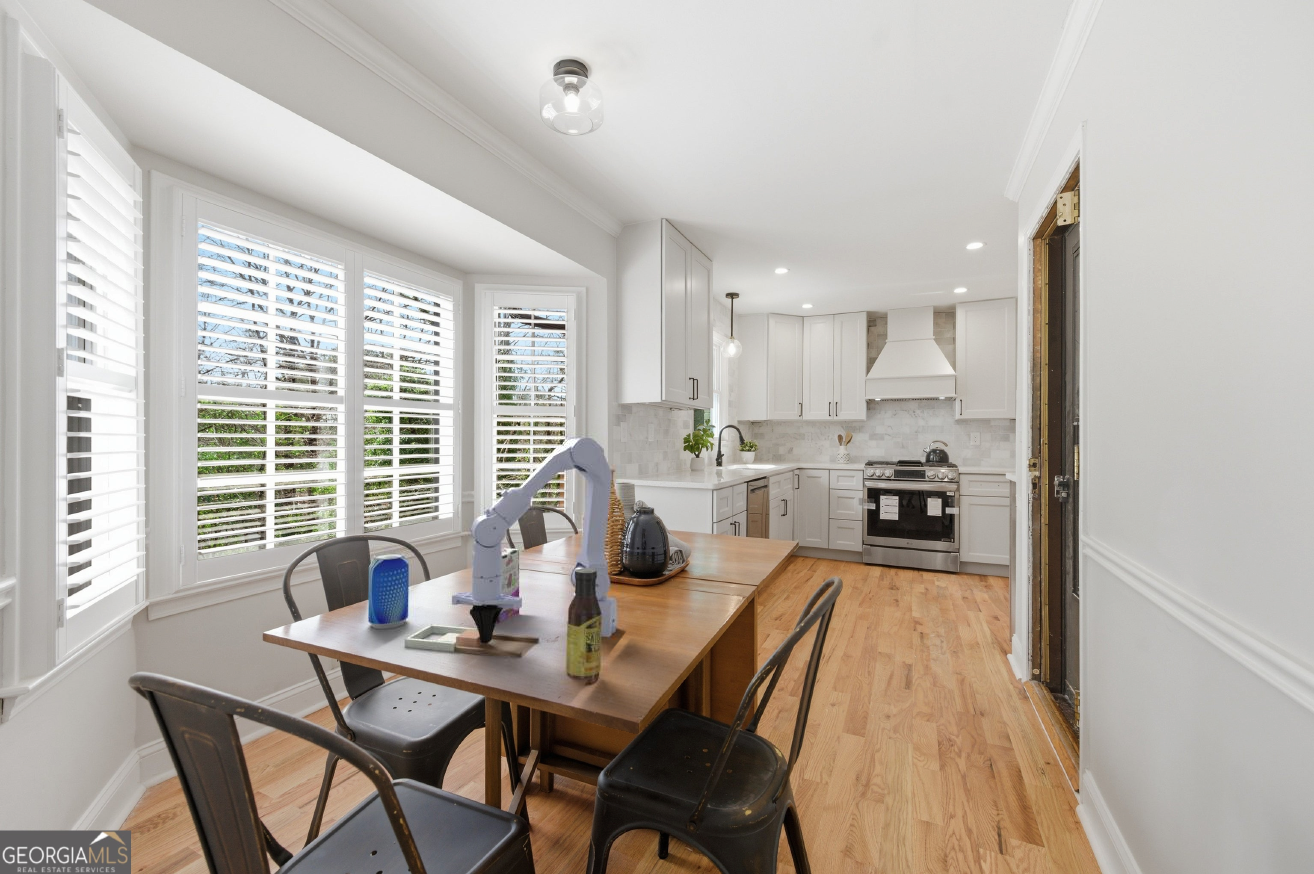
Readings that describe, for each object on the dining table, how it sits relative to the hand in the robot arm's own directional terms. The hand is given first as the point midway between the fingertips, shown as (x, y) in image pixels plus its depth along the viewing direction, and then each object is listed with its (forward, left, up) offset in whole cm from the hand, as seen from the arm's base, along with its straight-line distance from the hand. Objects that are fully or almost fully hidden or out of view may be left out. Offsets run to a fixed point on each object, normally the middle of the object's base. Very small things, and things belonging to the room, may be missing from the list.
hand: (486, 641), depth 116 cm
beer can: (+30, -11, -2) cm, 32 cm away
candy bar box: (+6, -19, -2) cm, 20 cm away
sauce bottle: (-24, +7, -2) cm, 25 cm away
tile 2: (+3, 0, -1) cm, 3 cm away
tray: (+10, 0, -2) cm, 10 cm away
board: (-3, 0, -2) cm, 3 cm away
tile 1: (+8, 0, -2) cm, 8 cm away
